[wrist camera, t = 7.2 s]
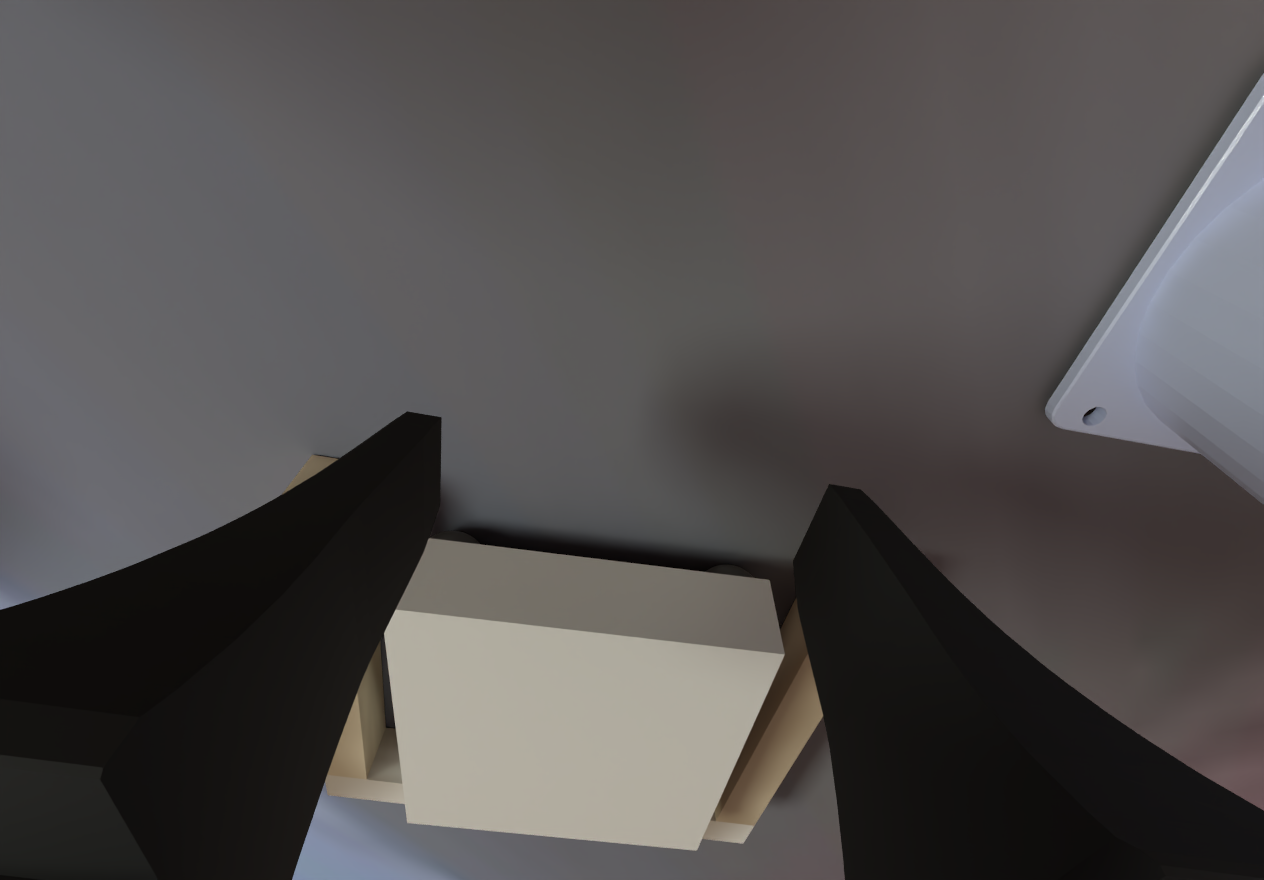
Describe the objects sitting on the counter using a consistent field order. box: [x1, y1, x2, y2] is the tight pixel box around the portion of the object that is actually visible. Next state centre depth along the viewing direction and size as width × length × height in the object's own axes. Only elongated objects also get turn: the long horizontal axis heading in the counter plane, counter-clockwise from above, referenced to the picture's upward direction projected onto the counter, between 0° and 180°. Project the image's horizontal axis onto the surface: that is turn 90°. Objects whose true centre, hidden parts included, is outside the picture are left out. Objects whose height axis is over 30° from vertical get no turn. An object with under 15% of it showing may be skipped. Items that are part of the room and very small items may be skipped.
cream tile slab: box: [384, 531, 785, 851], centre depth 20 cm, size 10×11×4 cm
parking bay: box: [283, 455, 823, 843], centre depth 21 cm, size 16×14×2 cm
